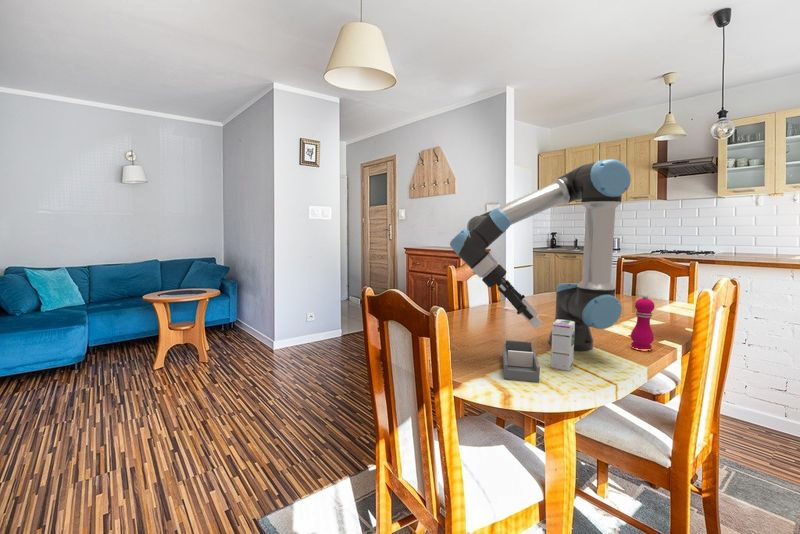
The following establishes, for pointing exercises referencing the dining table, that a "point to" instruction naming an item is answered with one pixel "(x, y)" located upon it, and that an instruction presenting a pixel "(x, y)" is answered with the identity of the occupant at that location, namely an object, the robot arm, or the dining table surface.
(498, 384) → the dining table surface
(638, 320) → the pepper mill
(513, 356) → the block
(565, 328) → the syrup box
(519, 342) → the grey card holder
